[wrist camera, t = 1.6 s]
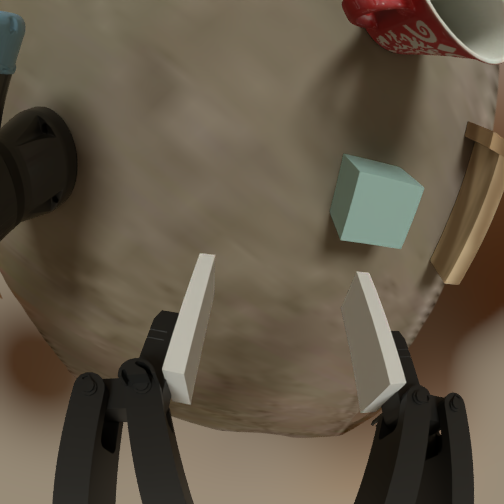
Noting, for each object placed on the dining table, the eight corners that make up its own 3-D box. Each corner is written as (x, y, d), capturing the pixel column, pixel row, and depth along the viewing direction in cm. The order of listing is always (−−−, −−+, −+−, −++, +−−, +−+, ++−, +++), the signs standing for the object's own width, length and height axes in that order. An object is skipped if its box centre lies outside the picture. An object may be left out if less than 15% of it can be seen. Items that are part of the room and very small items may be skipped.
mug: (416, -10, 13) (491, -35, 2) (438, 62, 18) (526, 72, 7) (306, -10, 16) (335, -72, 5) (333, 67, 21) (389, 57, 10)
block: (329, 211, 30) (340, 240, 25) (343, 153, 26) (359, 171, 21) (382, 220, 30) (400, 248, 25) (399, 167, 26) (424, 187, 21)
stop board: (419, 258, 33) (434, 282, 29) (467, 121, 21) (493, 131, 17) (444, 262, 33) (458, 284, 29) (492, 135, 21) (516, 147, 17)
